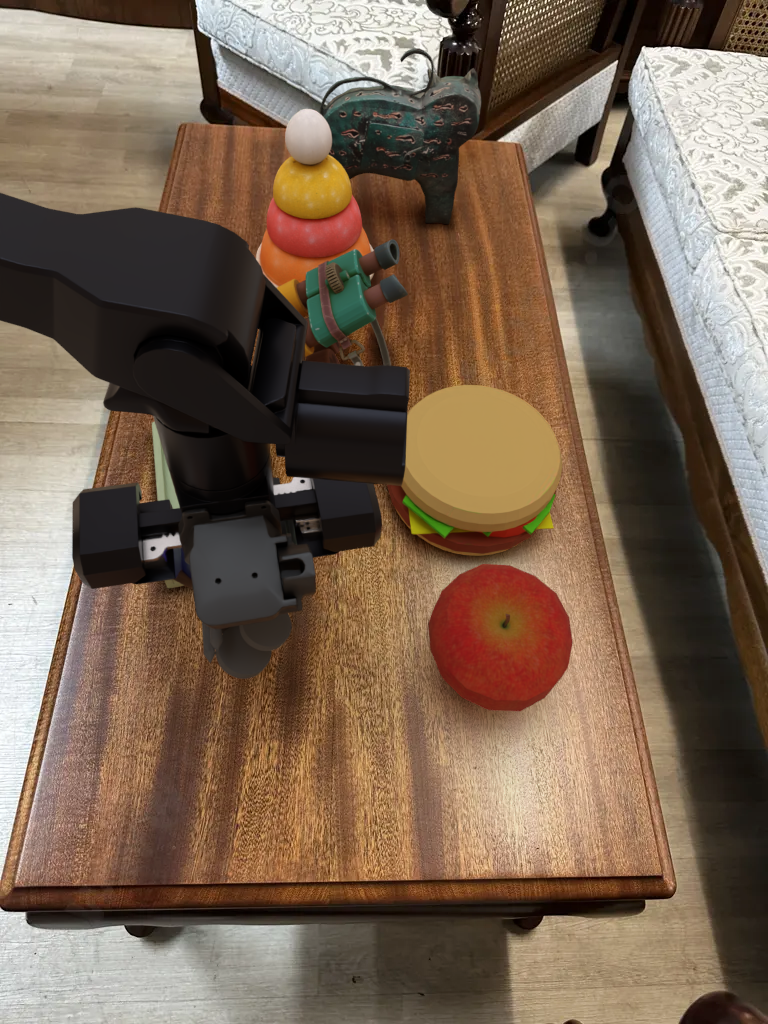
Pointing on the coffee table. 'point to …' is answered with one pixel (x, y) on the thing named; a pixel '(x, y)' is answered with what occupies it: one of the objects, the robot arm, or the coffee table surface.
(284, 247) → the stacking toy
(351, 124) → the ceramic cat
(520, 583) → the apple
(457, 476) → the hamburger
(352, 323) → the binoculars
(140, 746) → the coffee table surface
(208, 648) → the character figurine
